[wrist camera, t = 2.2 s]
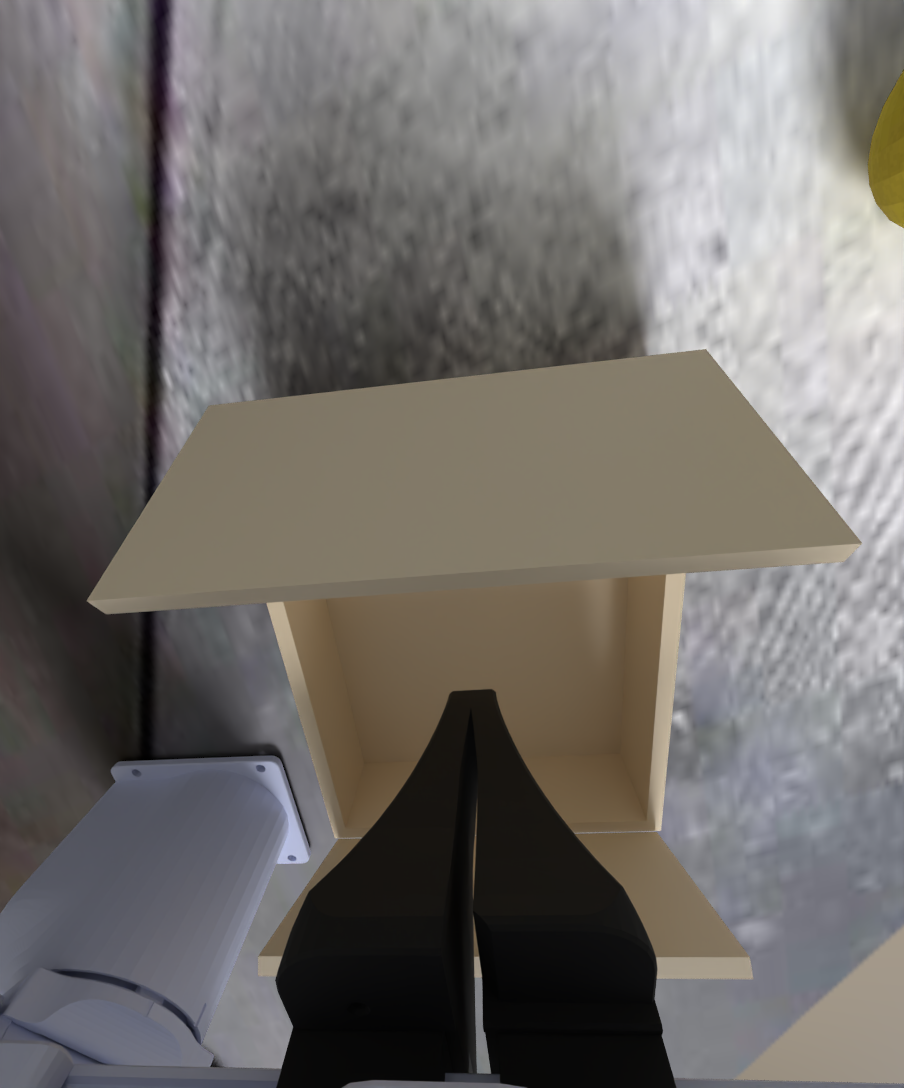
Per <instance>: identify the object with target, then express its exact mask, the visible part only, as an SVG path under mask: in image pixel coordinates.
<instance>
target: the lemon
mask: <svg viewBox="0 0 904 1088" xmlns="http://www.w3.org/2000/svg"><path fill="white" fill-rule="evenodd" d="M868 173H869V185H870V188H871V191H872V193H873V196H874V199H875V202H876V204H877V205H878V206H879V207H880V209H881V210H882V211H883V212H884V214H885V215H886V216H887V217H888V219H889V220H890V221H892V222H894V223H896V224H897V225H899V226H901V227H903V228H904V70H903V72H902V74H901V75H900V77H899V79H898V81H897V83H896V84H895V86H894V88H893V90H892V91H891V93H890V95H889V97H888V98H887V100H886V102H885V104H884V106H883V108H882V111H881V114H880V116H879V119H878V122H877V125H876V128H875V130H874V133H873V136H872V141H871V147H870V153H869V160H868Z"/></svg>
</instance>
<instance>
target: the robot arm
mask: <svg viewBox="0 0 904 1088" xmlns="http://www.w3.org/2000/svg"><path fill="white" fill-rule="evenodd" d="M111 774H112V776H113V778H114V780H115V783H114V784H113V785H112V786H111V788H110V789H109V790H108V791H107V792H106V793H105V794H104V795H103V796H102V798H101V799H100V800H99V801H98V802H97V803H96V804H95V805H94V806H93V808H92V809H91V810H90V811H89V812H88V813H87V814H86V815H85V816H84V818H83V819H82V820H81V821H80V822H79V823H78V824H77V825H76V826H75V828H74V829H73V830H72V831H71V832H70V833H69V834H68V835H67V836H66V838H65V839H64V840H63V841H62V842H61V843H60V844H59V845H58V846H57V848H56V849H55V850H54V851H53V852H52V853H51V854H50V855H49V856H48V858H47V859H46V860H45V861H44V862H43V863H42V864H41V865H40V866H39V868H38V869H37V870H36V871H35V872H34V873H33V874H32V875H31V876H30V878H29V879H28V880H27V881H26V882H25V883H24V884H23V885H22V886H21V888H20V889H19V890H18V891H17V892H16V893H15V895H14V896H13V897H12V898H11V900H10V901H9V902H8V904H7V905H6V906H5V908H4V909H3V911H2V912H1V914H0V1088H904V1084H894V1083H891V1084H890V1083H851V1082H849V1083H848V1082H810V1081H769V1080H727V1079H685V1078H674V1077H673V1074H672V1070H671V1067H670V1063H669V1060H668V1056H667V1053H666V1049H665V1046H664V1043H663V1039H662V1036H661V1035H662V1033H663V1029H662V1024H661V1020H660V1017H659V1013H658V1010H657V1006H656V1003H655V1000H654V997H655V988H656V979H657V970H658V968H657V960H656V956H655V952H654V950H653V947H652V944H651V942H650V939H649V937H648V935H647V932H646V930H645V928H644V926H643V923H642V921H641V919H640V917H639V915H638V913H637V911H636V909H635V908H634V906H633V904H632V902H631V900H630V898H629V897H628V895H627V893H626V891H625V889H624V888H623V886H622V885H621V884H620V883H619V882H618V881H617V880H616V879H615V878H614V877H613V876H612V875H611V874H610V873H609V872H608V871H607V870H606V869H605V868H604V867H603V866H602V865H601V863H600V862H599V861H598V860H597V859H596V858H595V857H594V856H593V855H592V854H591V853H590V851H589V850H588V849H587V848H586V847H585V846H584V845H583V843H582V842H581V841H580V840H579V839H578V838H577V836H576V835H575V834H574V833H573V831H572V830H571V829H570V828H569V826H568V825H567V824H566V823H565V821H564V820H563V819H562V818H561V816H560V815H559V814H558V812H557V811H556V810H555V809H554V807H553V806H552V804H551V803H550V801H549V800H548V799H547V797H546V796H545V794H544V793H543V791H542V790H541V788H540V787H539V785H538V784H537V782H536V781H535V779H534V778H533V776H532V774H531V773H530V771H529V769H528V768H527V766H526V764H525V762H524V760H523V759H522V757H521V755H520V753H519V751H518V749H517V748H516V746H515V744H514V741H513V739H512V737H511V735H510V733H509V731H508V729H507V726H506V724H505V722H504V719H503V716H502V714H501V711H500V708H499V705H498V701H497V696H496V692H495V691H494V690H493V689H482V690H462V691H452V692H451V693H450V694H449V697H448V700H447V703H446V706H445V709H444V711H443V714H442V716H441V718H440V720H439V723H438V725H437V727H436V729H435V731H434V733H433V735H432V737H431V739H430V741H429V743H428V745H427V747H426V749H425V751H424V752H423V754H422V756H421V758H420V759H419V761H418V763H417V765H416V766H415V768H414V770H413V771H412V773H411V775H410V776H409V778H408V779H407V781H406V782H405V784H404V785H403V787H402V788H401V790H400V791H399V793H398V794H397V795H396V797H395V798H394V800H393V801H392V802H391V803H390V805H389V806H388V807H387V809H386V810H385V811H384V813H383V814H382V815H381V817H380V818H379V819H378V820H377V821H376V823H375V824H374V825H373V826H372V828H371V829H370V830H369V831H368V832H367V833H366V834H365V835H364V836H363V838H362V839H361V840H360V841H359V842H358V843H357V844H356V845H355V846H354V848H353V849H352V850H351V851H350V852H349V853H348V854H347V855H346V856H345V857H344V858H343V859H342V860H341V861H340V862H339V863H338V864H337V865H336V866H335V867H334V868H333V869H332V870H331V871H330V872H329V873H328V874H327V875H326V876H325V877H324V878H323V879H321V880H320V881H319V882H318V883H317V884H316V885H315V886H314V887H313V888H312V889H311V890H310V891H309V892H308V894H307V896H306V898H305V900H304V902H303V905H302V907H301V909H300V911H299V913H298V916H297V918H296V920H295V922H294V925H293V927H292V930H291V932H290V935H289V938H288V941H287V944H286V947H285V950H284V953H283V956H282V959H281V962H280V965H279V968H278V972H277V976H276V980H275V981H276V985H277V990H278V993H279V995H280V998H281V1000H282V1002H283V1004H284V1007H285V1009H286V1011H287V1013H288V1016H289V1018H290V1020H291V1023H292V1025H293V1030H292V1034H291V1037H290V1041H289V1044H288V1048H287V1051H286V1055H285V1058H284V1062H283V1065H282V1069H267V1068H225V1067H210V1066H211V1064H212V1061H213V1058H214V1054H213V1053H211V1052H209V1051H208V1050H206V1049H205V1048H203V1047H202V1046H201V1044H202V1042H203V1040H204V1037H205V1035H206V1032H207V1030H208V1028H209V1025H210V1023H211V1020H212V1018H213V1015H214V1013H215V1011H216V1008H217V1006H218V1003H219V1001H220V999H221V996H222V994H223V991H224V989H225V986H226V984H227V982H228V979H229V977H230V974H231V972H232V969H233V967H234V965H235V962H236V960H237V957H238V955H239V953H240V950H241V948H242V945H243V943H244V940H245V938H246V936H247V933H248V931H249V928H250V926H251V923H252V921H253V919H254V916H255V914H256V911H257V909H258V907H259V904H260V902H261V899H262V897H263V894H264V892H265V890H266V887H267V885H268V882H269V880H270V877H271V875H272V873H273V870H274V868H275V865H276V864H290V863H306V862H307V861H308V860H309V858H310V855H311V851H310V848H309V845H308V842H307V839H306V836H305V833H304V829H303V826H302V823H301V820H300V817H299V814H298V811H297V808H296V805H295V802H294V799H293V796H292V792H291V789H290V786H289V783H288V780H287V777H286V774H285V771H284V768H283V765H282V762H281V760H280V759H279V758H278V757H276V756H271V755H270V756H245V757H219V758H194V759H169V760H143V761H120V762H117V763H116V764H115V765H114V766H113V767H112V768H111ZM476 811H477V831H476V858H475V878H474V896H473V854H474V839H475V825H476ZM473 916H474V923H475V930H476V937H477V945H478V952H479V959H480V966H481V973H482V985H483V1029H484V1032H485V1034H486V1041H487V1048H488V1054H489V1061H490V1068H491V1074H477V1065H476V1026H475V980H474V924H473Z"/></svg>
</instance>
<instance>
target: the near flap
mask: <svg viewBox="0 0 904 1088" xmlns="http://www.w3.org/2000/svg"><path fill="white" fill-rule="evenodd" d="M861 544H862V543H861V541H860V540H859V539H858V538H857V536H856V535H855V534H854V533H853V531H852V530H851V529H850V528H849V526H848V525H847V524H846V523H845V521H844V520H843V519H842V518H841V516H840V515H839V514H838V513H837V511H836V510H835V509H834V508H833V507H832V505H831V504H830V503H829V502H828V500H827V499H826V498H825V497H824V495H823V494H822V493H821V492H820V490H819V489H818V488H817V487H816V485H815V484H814V483H813V482H812V480H811V479H810V478H809V477H808V475H807V474H806V473H805V472H804V470H803V469H802V468H801V467H800V466H799V464H798V463H797V462H796V461H795V459H794V458H793V457H792V456H791V454H790V453H789V452H788V451H787V449H786V448H785V447H784V446H783V444H782V443H781V442H780V441H779V439H778V438H777V437H776V436H775V434H774V433H773V432H772V431H771V429H770V428H769V427H768V426H767V424H766V423H765V422H764V421H763V420H762V418H761V417H760V416H759V415H758V413H757V412H756V411H755V410H754V408H753V407H752V406H751V405H750V403H749V402H748V401H747V400H746V398H745V397H744V396H743V395H742V393H741V392H740V391H739V390H738V388H737V387H736V386H735V385H734V383H733V382H732V381H731V380H730V379H729V377H728V376H727V375H726V374H725V372H724V371H723V370H722V369H721V367H720V366H719V365H718V364H717V362H716V361H715V360H714V359H713V357H712V356H711V355H710V354H709V352H708V351H707V350H706V349H704V350H695V351H686V352H677V353H668V354H660V355H651V356H642V357H633V358H624V359H616V360H607V361H598V362H589V363H580V364H571V365H563V366H554V367H545V368H536V369H527V370H519V371H510V372H501V373H492V374H483V375H474V376H466V377H457V378H448V379H439V380H430V381H422V382H413V383H404V384H395V385H386V386H378V387H369V388H360V389H351V390H342V391H333V392H325V393H316V394H307V395H298V396H289V397H281V398H272V399H263V400H254V401H245V402H236V403H228V404H219V405H210V406H208V408H207V409H206V411H205V413H204V414H203V416H202V417H201V419H200V421H199V422H198V424H197V425H196V427H195V429H194V430H193V432H192V433H191V435H190V437H189V438H188V440H187V441H186V443H185V445H184V446H183V448H182V449H181V451H180V453H179V454H178V456H177V457H176V459H175V461H174V462H173V464H172V465H171V467H170V469H169V470H168V472H167V473H166V475H165V477H164V478H163V480H162V481H161V483H160V484H159V486H158V488H157V489H156V491H155V492H154V494H153V496H152V497H151V499H150V500H149V502H148V504H147V505H146V507H145V508H144V510H143V512H142V513H141V515H140V516H139V518H138V520H137V521H136V523H135V524H134V526H133V528H132V529H131V531H130V532H129V534H128V536H127V537H126V539H125V540H124V542H123V544H122V545H121V547H120V548H119V550H118V552H117V553H116V555H115V556H114V558H113V559H112V561H111V563H110V564H109V566H108V567H107V569H106V571H105V572H104V574H103V575H102V577H101V579H100V580H99V582H98V583H97V585H96V587H95V588H94V590H93V591H92V593H91V595H90V596H89V598H88V599H87V602H89V603H90V604H92V605H93V606H95V607H96V608H98V609H99V610H100V611H102V612H103V613H105V614H118V613H132V612H146V611H160V610H174V609H188V608H202V607H217V606H231V605H245V604H259V603H273V602H287V601H301V600H315V599H329V598H343V597H357V596H371V595H385V594H399V593H413V592H427V591H441V590H455V589H469V588H484V587H498V586H512V585H526V584H540V583H554V582H568V581H582V580H596V579H610V578H624V577H638V576H652V575H666V574H680V573H694V572H708V571H722V570H736V569H751V568H765V567H779V566H793V565H807V564H821V563H835V562H844V561H845V560H846V559H847V558H848V557H849V556H850V555H851V554H852V553H853V552H854V551H855V550H856V549H857V548H858V547H859V546H860V545H861Z"/></svg>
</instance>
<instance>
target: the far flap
mask: <svg viewBox="0 0 904 1088" xmlns="http://www.w3.org/2000/svg"><path fill="white" fill-rule="evenodd" d="M575 835H576V836H577V838H578V839H579V840H580V841H581V842H582V843H583V845H584V846H585V847H586V848H587V849H588V850H589V851H590V853H591V854H592V855H593V856H594V857H595V858H596V859H597V860H598V861H599V862H600V863H601V865H602V866H603V867H604V868H605V869H606V870H607V871H608V872H609V873H610V874H611V875H612V876H613V877H614V878H615V879H616V880H617V881H618V882H619V883H620V884H621V885H622V886H623V888H624V889H625V891H626V893H627V895H628V897H629V898H630V900H631V902H632V904H633V906H634V908H635V909H636V911H637V913H638V915H639V917H640V919H641V921H642V923H643V926H644V928H645V930H646V932H647V935H648V937H649V939H650V942H651V944H652V947H653V950H654V952H655V956H656V960H657V968H658V970H657V979H753V975H752V968H751V962H750V957H749V956H748V954H747V953H746V952H745V950H744V949H743V948H742V946H741V945H740V944H739V942H738V941H737V939H736V938H735V937H734V935H733V934H732V933H731V931H730V930H729V929H728V927H727V926H726V925H725V923H724V922H723V921H722V919H721V918H720V917H719V915H718V914H717V913H716V911H715V910H714V909H713V907H712V906H711V904H710V903H709V902H708V900H707V899H706V898H705V896H704V895H703V894H702V892H701V891H700V890H699V888H698V887H697V886H696V884H695V883H694V882H693V880H692V879H691V878H690V876H689V875H688V874H687V872H686V871H685V869H684V868H683V867H682V865H681V864H680V863H679V861H678V860H677V859H676V857H675V856H674V855H673V853H672V852H671V851H670V849H669V848H668V847H667V845H666V844H665V843H664V841H663V840H662V839H661V837H660V836H659V834H658V833H657V832H638V833H592V834H575ZM360 840H361V839H338V840H337V842H336V843H335V845H334V846H333V848H332V849H331V851H330V852H329V854H328V855H327V857H326V858H325V859H324V861H323V862H322V864H321V865H320V867H319V868H318V870H317V871H316V873H315V874H314V876H313V877H312V879H311V880H310V881H309V883H308V884H307V886H306V887H305V889H304V890H303V892H302V893H301V895H300V896H299V898H298V899H297V900H296V902H295V903H294V905H293V906H292V908H291V909H290V911H289V912H288V914H287V915H286V917H285V918H284V919H283V921H282V922H281V924H280V925H279V927H278V928H277V930H276V931H275V933H274V934H273V936H272V937H271V939H270V940H269V941H268V943H267V944H266V946H265V947H264V949H263V950H262V952H261V953H260V955H259V956H258V976H277V972H278V968H279V965H280V962H281V959H282V956H283V953H284V950H285V947H286V944H287V941H288V938H289V935H290V932H291V930H292V927H293V925H294V922H295V920H296V918H297V916H298V913H299V911H300V909H301V907H302V905H303V902H304V900H305V898H306V896H307V894H308V892H309V891H310V890H311V889H312V888H313V887H314V886H315V885H316V884H317V883H318V882H319V881H320V880H321V879H323V878H324V877H325V876H326V875H327V874H328V873H329V872H330V871H331V870H332V869H333V868H334V867H335V866H336V865H337V864H338V863H339V862H340V861H341V860H342V859H343V858H344V857H345V856H346V855H347V854H348V853H349V852H350V851H351V850H352V849H353V848H354V846H355V845H356V844H357V843H358V842H359V841H360ZM475 858H476V836H475V839H474V854H473V896H474V878H475ZM473 924H474V977H479V978H482V973H481V966H480V959H479V952H478V945H477V937H476V930H475V923H474V916H473Z"/></svg>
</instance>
